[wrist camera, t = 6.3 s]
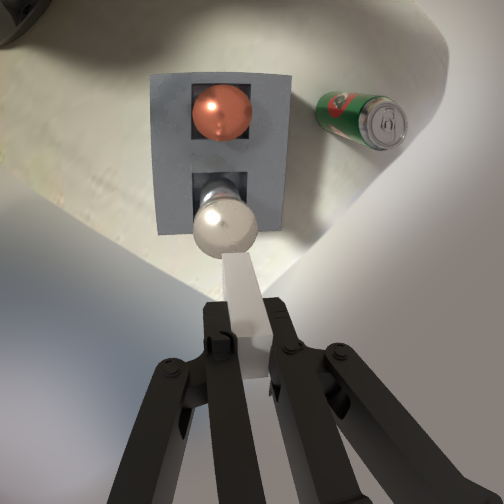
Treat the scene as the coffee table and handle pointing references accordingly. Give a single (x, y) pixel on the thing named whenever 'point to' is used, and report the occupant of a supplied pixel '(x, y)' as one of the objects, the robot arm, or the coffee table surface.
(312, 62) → the coffee table surface
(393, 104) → the soda can
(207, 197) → the white light bulb
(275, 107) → the housing
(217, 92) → the orange light bulb
